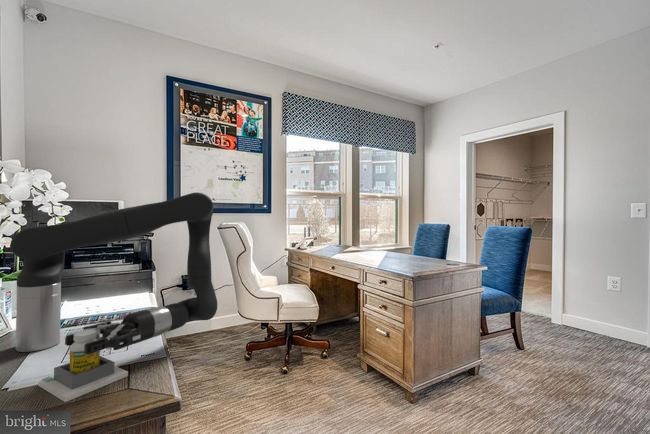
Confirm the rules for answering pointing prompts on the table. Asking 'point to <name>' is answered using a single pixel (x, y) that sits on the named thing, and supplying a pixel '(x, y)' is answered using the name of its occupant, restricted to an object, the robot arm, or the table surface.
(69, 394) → the dock
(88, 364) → the supplement bottle
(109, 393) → the table surface
